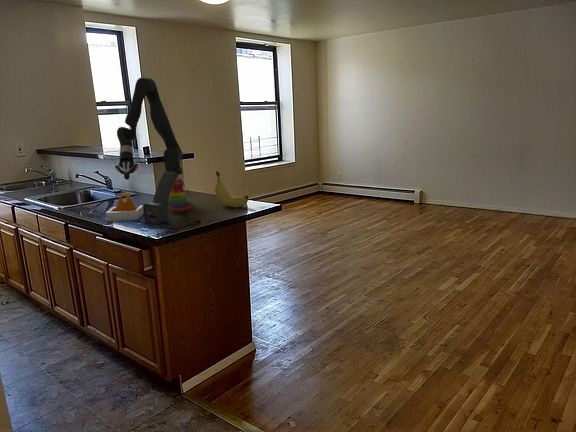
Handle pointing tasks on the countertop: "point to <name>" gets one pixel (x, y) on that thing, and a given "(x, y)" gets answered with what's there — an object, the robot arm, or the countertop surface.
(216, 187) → the banana
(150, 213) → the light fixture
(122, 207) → the orange tapered block
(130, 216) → the bracket
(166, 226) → the countertop surface
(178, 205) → the stacking bear
